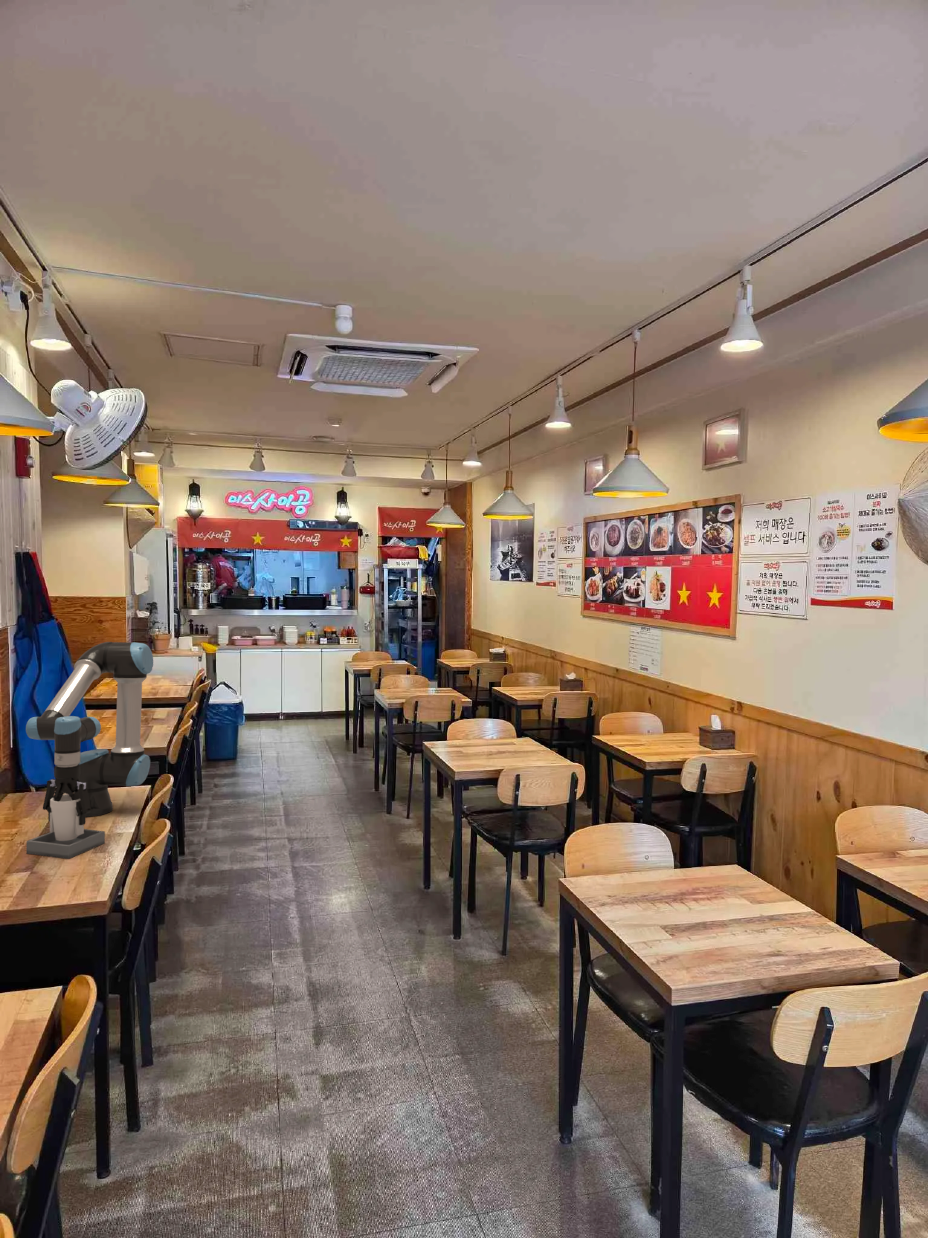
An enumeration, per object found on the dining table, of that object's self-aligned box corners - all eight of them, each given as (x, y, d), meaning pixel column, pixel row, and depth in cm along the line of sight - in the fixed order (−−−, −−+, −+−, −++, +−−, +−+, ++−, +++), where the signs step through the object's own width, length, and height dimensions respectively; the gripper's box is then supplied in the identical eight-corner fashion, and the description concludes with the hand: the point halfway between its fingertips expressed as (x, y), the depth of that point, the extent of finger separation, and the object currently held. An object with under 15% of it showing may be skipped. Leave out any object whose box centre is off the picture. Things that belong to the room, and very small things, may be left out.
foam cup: (89, 836, 250) (89, 796, 249) (63, 844, 241) (64, 803, 241) (69, 831, 254) (69, 793, 253) (43, 839, 245) (43, 799, 245)
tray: (64, 838, 257) (64, 826, 257) (104, 843, 253) (104, 831, 253) (26, 853, 242) (26, 841, 242) (68, 859, 238) (68, 846, 238)
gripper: (30, 764, 246) (29, 833, 247) (87, 769, 241) (86, 840, 241) (48, 759, 253) (47, 826, 254) (104, 765, 248) (103, 833, 249)
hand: (66, 833), depth 248 cm, fingers closed on foam cup, 9 cm apart
